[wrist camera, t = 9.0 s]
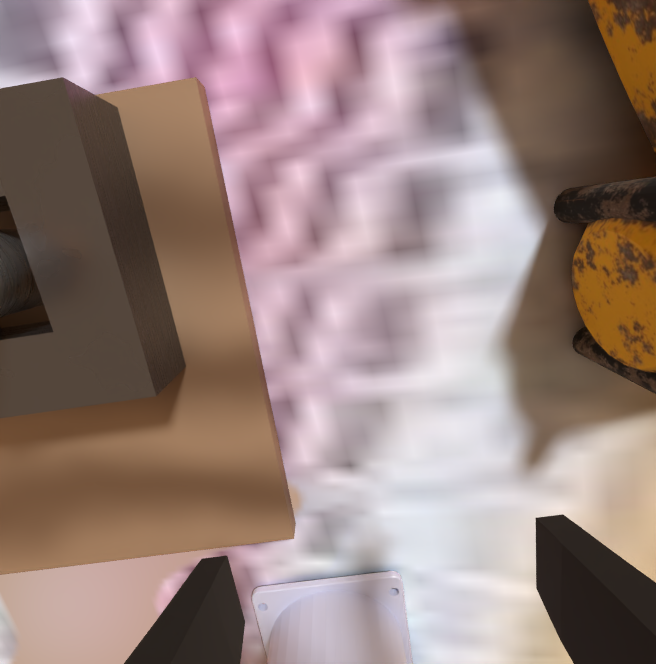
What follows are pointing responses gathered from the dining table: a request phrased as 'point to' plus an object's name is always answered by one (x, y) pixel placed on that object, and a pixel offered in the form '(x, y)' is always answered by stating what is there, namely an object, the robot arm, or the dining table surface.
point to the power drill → (620, 217)
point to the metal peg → (16, 276)
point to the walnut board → (172, 402)
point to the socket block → (80, 257)
